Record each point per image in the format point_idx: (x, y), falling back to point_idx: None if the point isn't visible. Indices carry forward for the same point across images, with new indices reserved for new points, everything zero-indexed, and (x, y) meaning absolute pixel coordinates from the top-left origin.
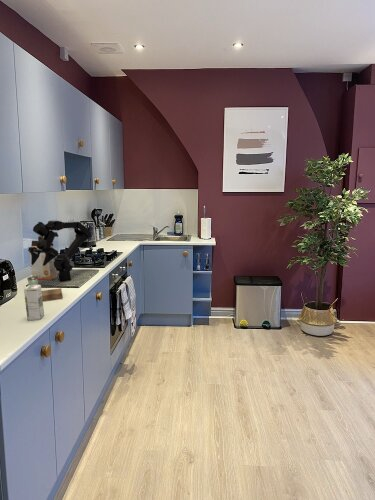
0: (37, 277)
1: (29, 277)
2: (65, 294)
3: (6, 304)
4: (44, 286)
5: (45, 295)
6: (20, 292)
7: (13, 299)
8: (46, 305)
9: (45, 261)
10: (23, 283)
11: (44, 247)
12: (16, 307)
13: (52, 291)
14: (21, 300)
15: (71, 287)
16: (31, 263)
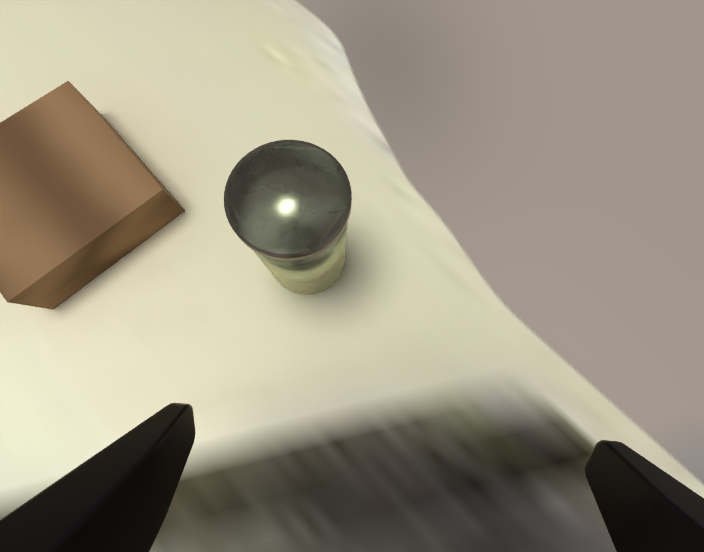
0: (230, 223)
1: (337, 192)
2: None
3: (318, 30)
4: (385, 465)
5: (39, 99)
6: (454, 253)
7: (358, 112)
8: (16, 64)
9: (53, 508)
10: None
11: None
12: (203, 3)
13: (39, 195)
14: (279, 107)
15: None
16: (626, 449)
